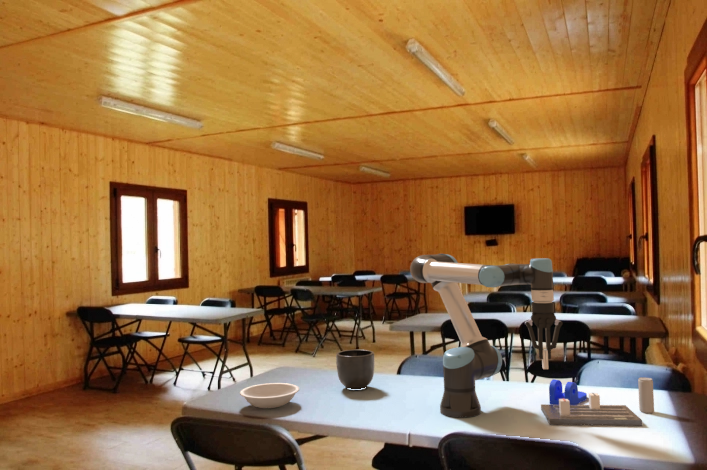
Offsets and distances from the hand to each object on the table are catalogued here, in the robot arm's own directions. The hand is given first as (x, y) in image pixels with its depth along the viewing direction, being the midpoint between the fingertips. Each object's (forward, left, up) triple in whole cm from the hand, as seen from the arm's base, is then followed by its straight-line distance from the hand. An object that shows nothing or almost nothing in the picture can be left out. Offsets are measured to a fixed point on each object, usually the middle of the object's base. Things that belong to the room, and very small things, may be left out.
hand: (545, 368), depth 203 cm
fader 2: (+18, +8, -16) cm, 26 cm away
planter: (-75, +43, -19) cm, 88 cm away
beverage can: (+37, +12, -19) cm, 43 cm away
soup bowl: (-106, +14, -19) cm, 109 cm away
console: (+15, +4, -18) cm, 24 cm away
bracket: (+13, +26, -19) cm, 35 cm away
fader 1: (+6, 0, -16) cm, 17 cm away
